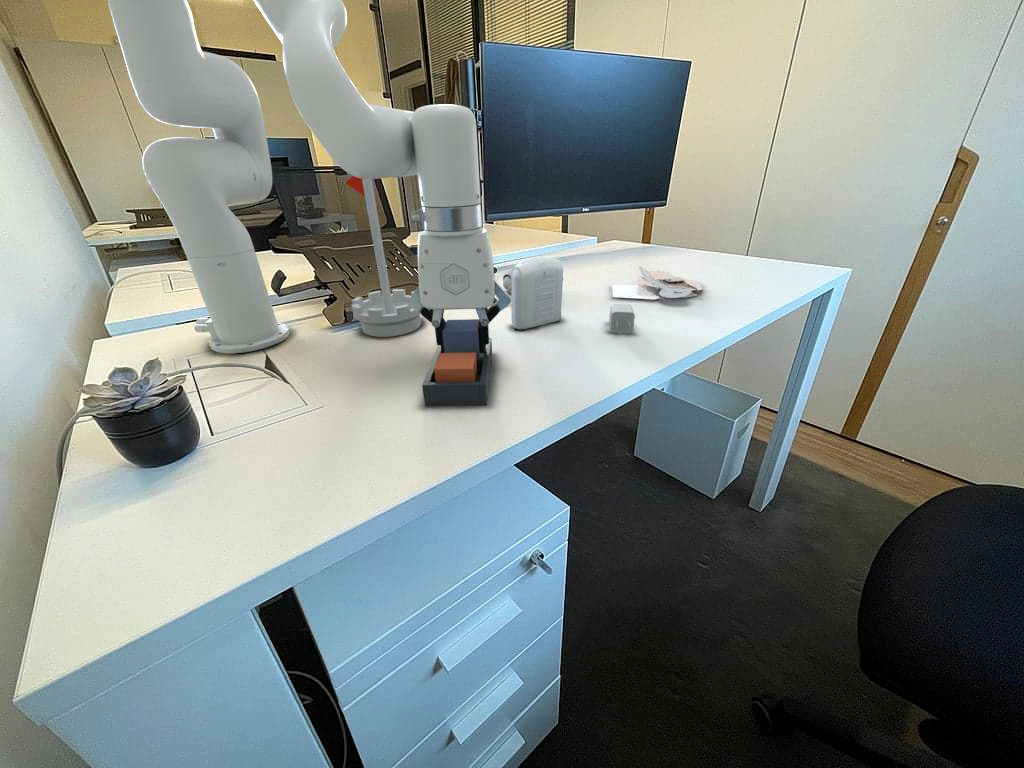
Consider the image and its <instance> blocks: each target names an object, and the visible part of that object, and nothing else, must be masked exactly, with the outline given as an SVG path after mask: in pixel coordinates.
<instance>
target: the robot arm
mask: <svg viewBox="0 0 1024 768" xmlns="http://www.w3.org/2000/svg"><path fill="white" fill-rule="evenodd" d="M252 1H253V2H254V4H255V5H256V7H257V8H258V10H259V12H261V14H262V16H263V18H264V19H265V21H266V22H267V24H268V26H270V28H271V29H272V31H273V32H274V34H275V35H276V37H277V38H278V40H279V41H280V44H281V45H282V64H283V71H284V75H285V79H286V83H287V87H288V90H289V94H290V96H291V99H292V100H293V104H294V106H295V107H296V109H297V112H298V113H299V115H300V116H301V118H302V119H303V121H304V122H305V124H306V125H307V127H308V128H309V130H310V131H311V132H312V134H313V136H314V137H315V138H316V139H317V141H318V142H319V144H320V146H321V147H322V148H323V149H324V151H325V152H326V153H327V155H328V156H329V157H330V158H331V160H333V161H334V163H335V164H336V165H337V166H338V167H339V168H341V169H342V170H343V171H345V172H346V173H348V174H349V175H351V176H355V177H358V178H361V179H372V180H376V179H388V178H393V179H394V178H395V179H396V178H404V177H411V176H415V175H416V176H417V182H418V189H419V197H420V205H421V206H420V208H419V209H417V210H415V211H413V210H412V211H411V213H410V218H411V222H412V223H418V224H420V225H421V226H422V229H423V231H420V232H418V234H417V273H418V274H417V275H418V285H417V286H416V289H415V290H414V291H415V292H414V293H413V295H412V296H411V295H410V296H411V298H410V299H409V301H408V305H409V306H410V307H411V308H413V309H414V310H416V311H417V312H419V313H421V314H420V316H422V317H423V318H425V319H426V320H427V321H428V322H429V323H430V324H431V326H432V327H433V328H434V333H435V341H436V345H437V346H438V345H441V352H442V353H445V352H444V344H443V335H442V332H443V329H444V328H445V325H446V323H447V320H446V319H445V318H444V314H445V311H446V310H447V311H449V310H475V311H476V314H477V317H478V319H479V323H478V336H479V350H480V352H484V349H485V344H489V338H490V333H489V331H490V330H489V324H490V323H491V322H492V321H493V320H494V319H495V318H496V316H498V315H499V313H500V312H501V311H503V310H504V309H505V308H507V307H508V306H509V305H511V295H510V294H509V293H508V292H507V290H506V289H505V288H504V287H503V285H501V283H500V282H499V281H498V280H497V279H496V278H495V267H494V259H493V252H492V246H491V241H490V237H489V233H488V229H486V228H483V221H482V218H483V217H482V204H481V203H482V202H481V184H480V168H479V167H480V166H479V165H480V164H479V150H478V149H479V148H478V132H477V131H478V130H477V129H478V128H477V121H476V116H475V115H474V112H473V111H472V110H471V109H470V108H469V107H467V106H464V105H460V104H459V105H458V104H429V105H422V106H420V107H417V108H416V109H415V110H414V111H410V110H405V109H400V108H399V109H398V108H391V107H389V106H382V105H378V104H371V103H367V101H366V100H365V99H364V98H363V96H362V94H360V92H359V90H358V89H357V87H356V86H355V84H354V83H353V81H352V79H351V78H350V77H349V74H347V72H346V70H345V68H344V67H343V65H342V64H341V62H340V60H339V58H338V55H337V54H336V52H335V49H334V48H335V47H336V46H337V45H338V44H339V42H340V40H341V39H342V37H343V35H344V33H345V31H346V28H347V23H348V15H347V14H348V13H347V10H346V6H345V4H344V1H343V0H252ZM107 3H108V7H109V11H110V15H111V18H112V21H113V26H114V28H115V32H116V35H117V39H118V42H119V45H120V48H121V49H120V50H121V52H122V55H123V58H124V62H125V65H126V68H127V72H128V76H129V78H130V81H131V82H130V83H131V84H132V87H133V90H134V92H135V95H136V97H137V99H138V101H139V103H140V105H141V107H142V108H143V110H144V112H146V113H147V114H148V115H149V116H150V117H152V118H153V119H155V120H156V121H158V122H160V123H164V124H166V125H171V126H175V127H183V128H184V127H185V128H198V129H201V128H202V129H212V131H213V135H214V138H207V137H185V136H184V137H183V136H182V137H181V136H180V137H179V136H178V137H175V136H174V137H166V138H160V139H158V140H154V142H152V143H150V144H149V145H147V147H146V148H145V151H144V152H143V155H142V160H141V161H142V169H143V172H144V175H145V177H146V179H147V182H148V184H149V185H150V187H151V189H152V191H153V192H154V194H155V196H156V197H157V198H158V200H159V202H160V203H161V205H162V206H163V208H164V210H165V212H166V213H167V216H168V217H169V219H170V221H171V223H172V225H173V228H174V230H175V232H176V234H177V237H178V239H179V242H180V244H181V247H182V250H183V251H184V254H185V257H186V259H187V262H188V264H189V266H190V269H191V272H192V274H193V277H194V280H195V283H196V284H197V288H198V289H199V292H200V295H201V298H202V300H203V303H204V306H205V308H206V311H207V313H208V315H209V317H199V318H197V319H196V321H195V325H194V331H195V332H196V333H209V334H210V339H209V340H208V345H209V348H210V350H212V351H213V352H216V353H220V354H243V353H251V352H256V351H259V350H264V349H267V348H271V347H272V346H275V345H277V344H279V343H282V342H283V341H284V340H286V339H287V338H288V337H289V335H290V332H291V331H290V328H289V326H288V325H287V324H285V323H282V322H278V321H277V318H276V314H275V312H274V308H273V305H272V302H271V299H270V298H271V297H270V295H269V292H268V289H267V286H266V283H265V279H264V276H263V273H262V269H261V266H260V262H259V260H258V256H257V254H256V249H255V246H254V244H253V241H252V238H251V236H250V233H249V231H248V230H247V228H246V226H245V225H244V224H243V222H241V220H240V219H239V218H238V217H237V216H236V215H235V213H233V211H232V210H231V209H230V208H229V207H231V206H233V207H234V206H238V205H239V206H240V205H241V206H242V205H249V204H254V203H258V202H261V201H264V200H265V199H266V198H268V196H269V195H270V193H271V191H272V187H273V170H272V169H273V168H272V163H271V157H270V151H269V145H268V138H267V132H266V126H265V121H264V115H263V110H262V106H261V105H262V104H261V102H260V97H259V95H258V92H257V89H256V87H255V86H254V84H253V82H252V80H251V78H250V77H249V75H248V74H247V72H246V71H245V70H243V68H242V67H241V66H240V65H238V64H237V63H236V62H234V61H233V60H232V59H230V58H227V57H225V56H223V55H220V54H217V53H212V52H208V51H204V50H202V48H201V45H200V43H199V39H198V36H197V32H196V27H195V21H194V16H193V12H192V10H191V7H190V4H189V2H188V0H107ZM494 297H495V298H496V297H497V302H495V303H493V302H494Z"/></svg>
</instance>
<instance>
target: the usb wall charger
mask: <svg viewBox="0 0 1024 768" xmlns="http://www.w3.org/2000/svg"><path fill="white" fill-rule="evenodd" d="M635 317H636V314H635V312H634V308H633V306H632V305H631V304H629V303H613V304H611V305H610V306H609V318H608V325H609V331H610V332H611V333H612V334H627V335H628V334H631V333H633V332H634V327H635Z"/></svg>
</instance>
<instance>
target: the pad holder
mask: <svg viewBox="0 0 1024 768" xmlns="http://www.w3.org/2000/svg"><path fill="white" fill-rule="evenodd" d="M440 353H442V352H441V345H437V347H436V349H435V352H434V355H433V357H432V360H431V361H430V365H429V367H428V369H427V372H426V374H425V377H424V379H423V382H422V384H421V388H422V395H423V402H424V406H425V407H437V406H438V407H439V406H487V405H488V398H489V388H490V380H491V379H490V378H491V371H492V360H493V342H492V337H489V344H485V349H484V352H480V355H479V357H476V360H477V374H478V379H477V382H436V379H435V371H434V369H435V366H436V363H437V361H438V358H439V355H440Z"/></svg>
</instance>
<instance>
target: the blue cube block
mask: <svg viewBox="0 0 1024 768" xmlns="http://www.w3.org/2000/svg"><path fill="white" fill-rule="evenodd" d="M446 322H447V323H446V325H445V328H444V329H443V332H442V335H443V344H444V352H445V353H472V352H476V357H479V355H480V350H479V336H478V323H479V318H474V319H473V318H472V319H471V318H469V319H468V318H467V319H447V320H446Z"/></svg>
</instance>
